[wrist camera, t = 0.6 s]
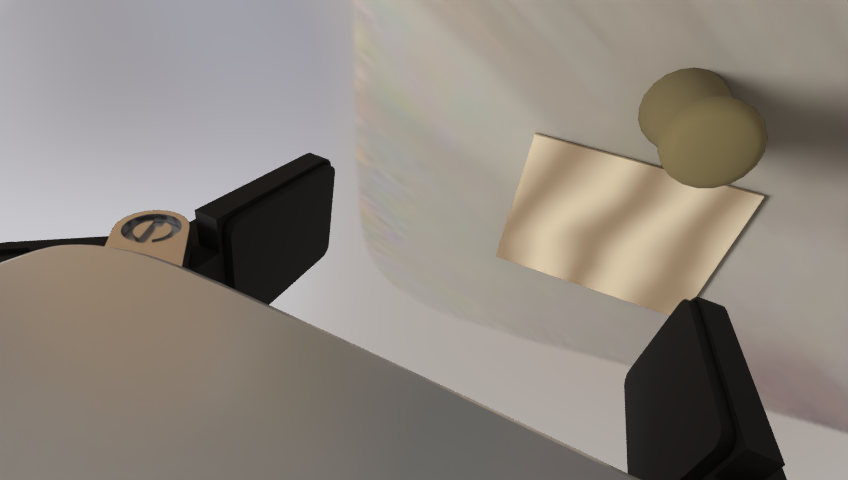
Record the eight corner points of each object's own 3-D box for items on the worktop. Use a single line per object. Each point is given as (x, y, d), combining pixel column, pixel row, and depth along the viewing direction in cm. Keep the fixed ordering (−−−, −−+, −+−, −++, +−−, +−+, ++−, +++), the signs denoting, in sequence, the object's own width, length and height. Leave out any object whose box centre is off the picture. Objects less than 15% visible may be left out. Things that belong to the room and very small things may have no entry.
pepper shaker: (751, 105, 30) (816, 148, 21) (675, 164, 33) (703, 223, 24) (690, 49, 30) (730, 68, 21) (620, 114, 33) (628, 155, 24)
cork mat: (762, 194, 32) (764, 196, 32) (679, 316, 39) (680, 319, 39) (535, 132, 36) (534, 134, 36) (496, 253, 43) (495, 256, 43)
